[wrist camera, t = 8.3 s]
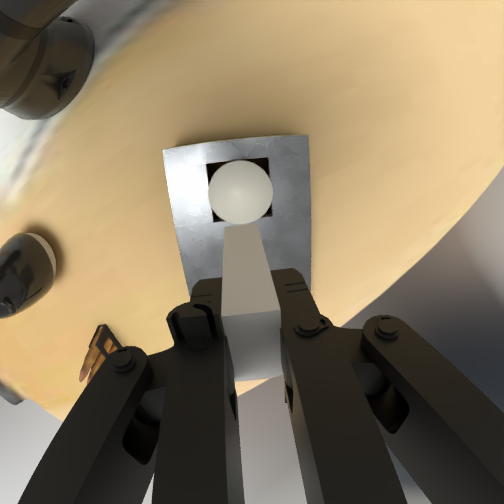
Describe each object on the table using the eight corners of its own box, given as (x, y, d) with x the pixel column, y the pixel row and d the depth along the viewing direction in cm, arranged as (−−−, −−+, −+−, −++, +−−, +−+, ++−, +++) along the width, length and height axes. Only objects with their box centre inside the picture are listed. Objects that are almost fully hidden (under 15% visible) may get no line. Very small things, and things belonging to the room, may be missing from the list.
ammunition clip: (137, 366, 44) (123, 419, 33) (129, 368, 44) (114, 419, 33) (105, 323, 39) (80, 376, 28) (97, 325, 39) (71, 377, 29)
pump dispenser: (71, 286, 36) (24, 350, 22) (27, 279, 35) (-21, 332, 21) (60, 224, 32) (-5, 276, 18) (15, 223, 31) (-46, 266, 17)
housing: (174, 146, 29) (162, 150, 24) (294, 134, 30) (307, 135, 24) (204, 315, 40) (202, 343, 34) (299, 305, 40) (308, 331, 35)
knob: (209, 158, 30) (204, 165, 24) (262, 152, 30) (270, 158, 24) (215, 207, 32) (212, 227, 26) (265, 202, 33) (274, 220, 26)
